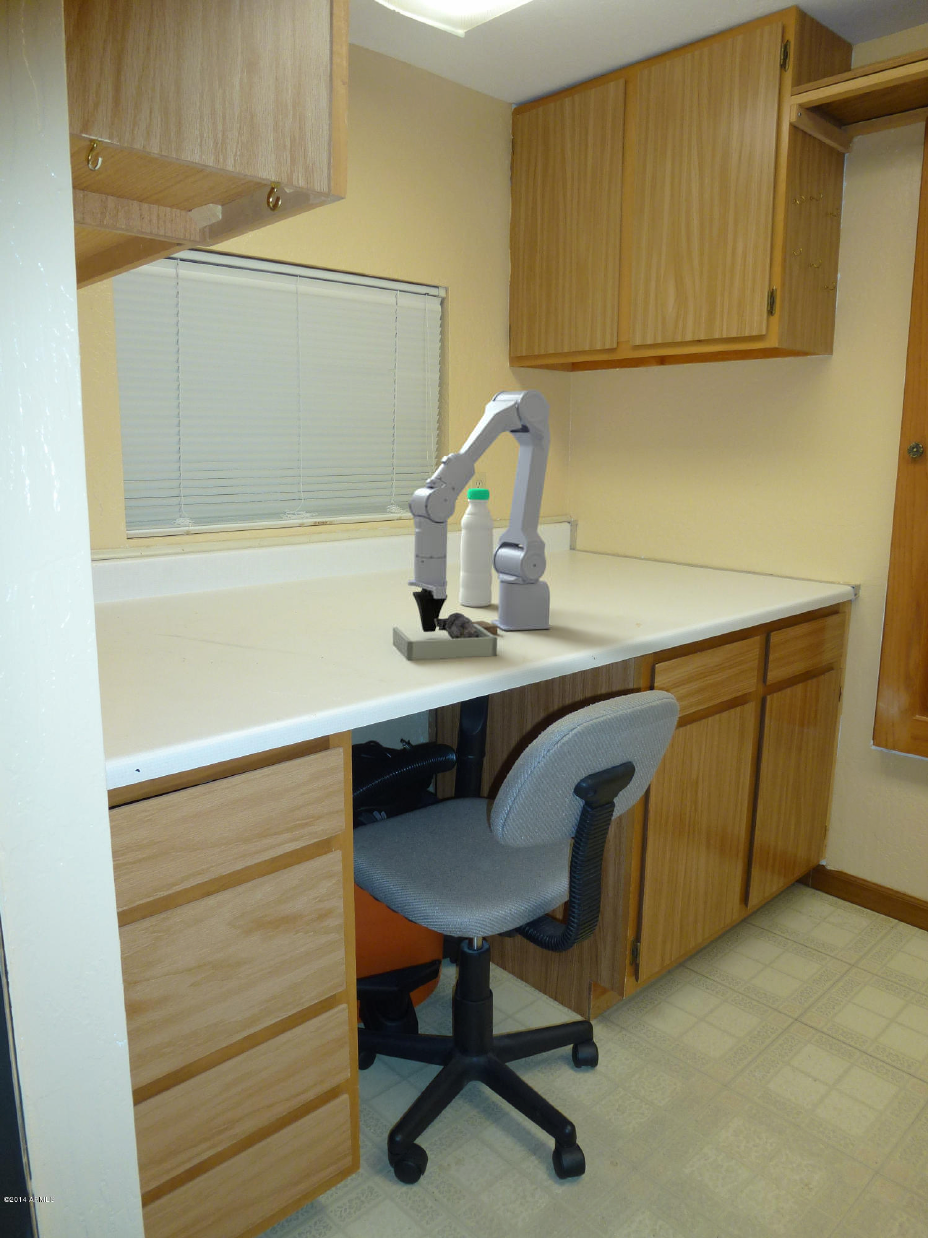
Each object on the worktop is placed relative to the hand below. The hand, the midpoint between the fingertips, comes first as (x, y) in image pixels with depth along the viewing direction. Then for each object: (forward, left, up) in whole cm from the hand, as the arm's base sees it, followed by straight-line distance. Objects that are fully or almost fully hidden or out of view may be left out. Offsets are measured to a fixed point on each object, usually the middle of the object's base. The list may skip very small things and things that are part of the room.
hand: (429, 631), depth 156 cm
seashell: (-2, +1, +3) cm, 4 cm away
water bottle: (-18, -29, -1) cm, 34 cm away
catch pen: (0, +9, -1) cm, 9 cm away
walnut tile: (-10, -2, -2) cm, 10 cm away
